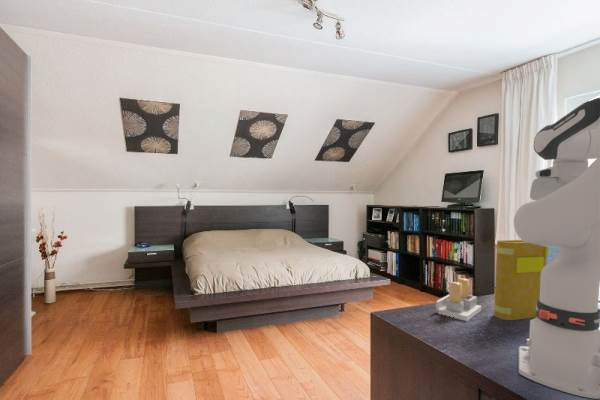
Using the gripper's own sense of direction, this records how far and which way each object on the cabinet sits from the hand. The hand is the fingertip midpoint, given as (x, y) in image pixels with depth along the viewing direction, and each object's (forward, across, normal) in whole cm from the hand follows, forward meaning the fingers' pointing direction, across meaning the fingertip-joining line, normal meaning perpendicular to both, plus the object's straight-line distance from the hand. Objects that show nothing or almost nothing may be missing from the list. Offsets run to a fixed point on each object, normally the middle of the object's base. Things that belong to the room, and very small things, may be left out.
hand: (567, 216), depth 110 cm
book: (+34, +12, +3) cm, 36 cm away
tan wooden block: (+33, +27, +11) cm, 44 cm away
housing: (+34, +27, +14) cm, 46 cm away
